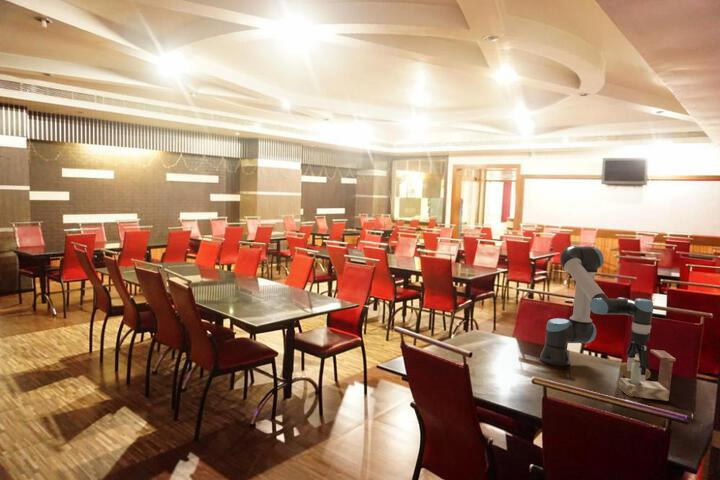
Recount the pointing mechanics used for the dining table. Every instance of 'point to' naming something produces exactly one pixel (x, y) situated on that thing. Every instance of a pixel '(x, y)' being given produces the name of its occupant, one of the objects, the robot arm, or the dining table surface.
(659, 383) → the socket stand
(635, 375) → the peg
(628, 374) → the potato
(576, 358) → the dining table surface
